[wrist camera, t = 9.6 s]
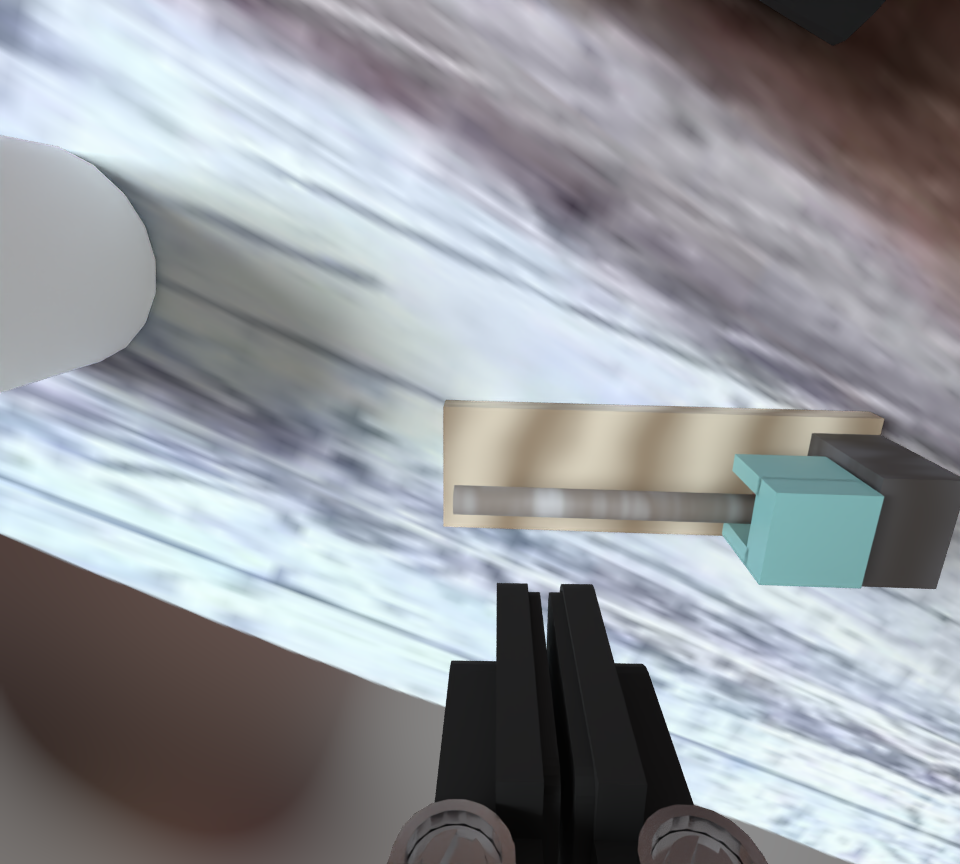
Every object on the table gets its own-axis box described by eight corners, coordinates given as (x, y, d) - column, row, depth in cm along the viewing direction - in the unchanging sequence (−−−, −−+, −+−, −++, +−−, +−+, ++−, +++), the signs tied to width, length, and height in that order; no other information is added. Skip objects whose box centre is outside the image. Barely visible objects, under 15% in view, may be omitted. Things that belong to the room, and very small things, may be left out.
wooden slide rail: (869, 411, 36) (974, 461, 28) (841, 529, 39) (931, 605, 31) (445, 399, 37) (430, 445, 29) (445, 516, 40) (431, 587, 32)
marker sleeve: (826, 456, 33) (884, 496, 28) (808, 537, 35) (860, 588, 30) (734, 453, 33) (776, 492, 28) (721, 534, 35) (759, 584, 30)
